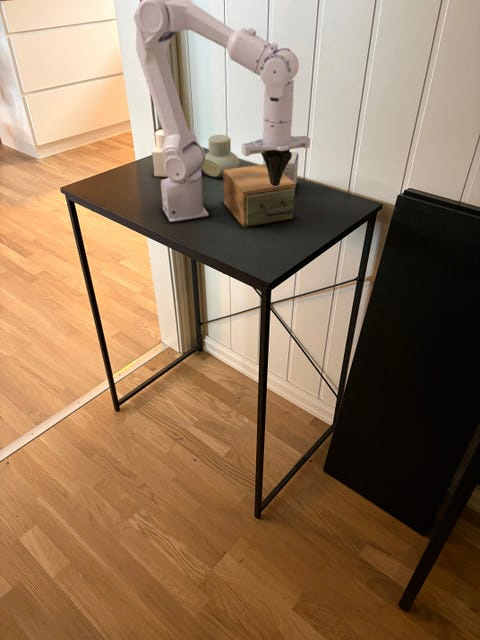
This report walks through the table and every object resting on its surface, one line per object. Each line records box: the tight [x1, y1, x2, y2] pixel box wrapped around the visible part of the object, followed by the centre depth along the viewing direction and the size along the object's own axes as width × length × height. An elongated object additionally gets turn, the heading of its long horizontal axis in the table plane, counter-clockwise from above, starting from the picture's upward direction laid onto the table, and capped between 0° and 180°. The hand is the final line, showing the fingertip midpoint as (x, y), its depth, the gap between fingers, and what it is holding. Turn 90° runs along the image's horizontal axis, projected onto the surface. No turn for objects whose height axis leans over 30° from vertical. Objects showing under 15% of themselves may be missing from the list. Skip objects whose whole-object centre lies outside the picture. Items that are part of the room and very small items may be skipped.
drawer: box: [246, 188, 296, 226], centre depth 114 cm, size 17×11×7 cm, turn 21°
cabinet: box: [222, 163, 296, 228], centre depth 117 cm, size 14×13×9 cm
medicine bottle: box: [151, 127, 169, 178], centre depth 135 cm, size 7×7×12 cm
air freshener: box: [201, 134, 241, 179], centre depth 135 cm, size 11×8×10 cm
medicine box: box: [283, 151, 299, 188], centre depth 127 cm, size 8×4×9 cm, turn 168°
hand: (274, 184), depth 107 cm, fingers closed
